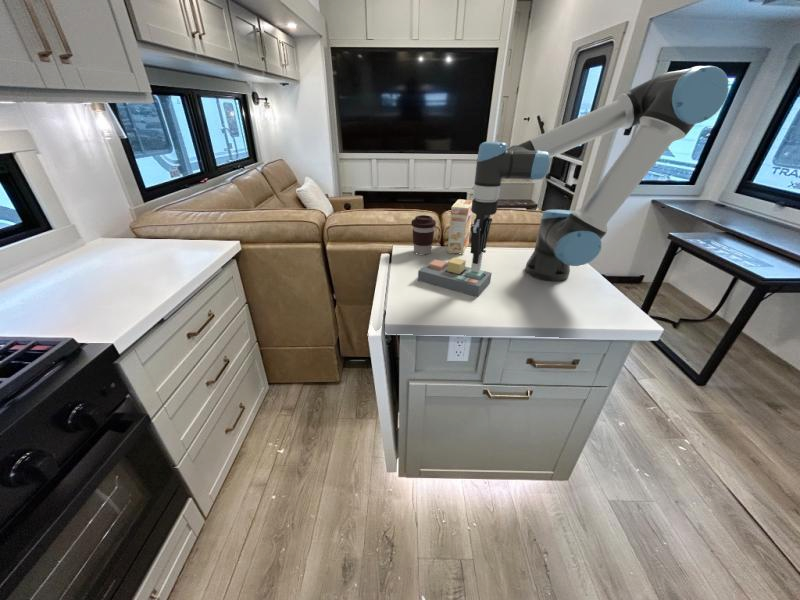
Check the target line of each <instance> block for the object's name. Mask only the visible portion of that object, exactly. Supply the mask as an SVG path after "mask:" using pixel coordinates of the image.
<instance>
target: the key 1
mask: <svg viewBox="0 0 800 600" xmlns="http://www.w3.org/2000/svg"><path fill="white" fill-rule="evenodd" d="M433 260H434V259H433ZM443 261H444V260H440V261H439V259H435V260H434V261H433V262H431V261H430V262H431V263H430V264H429V268H432V269H436V270H440V271H442V270H443V269H445V268H446V265H447V261H444V262H443Z"/></svg>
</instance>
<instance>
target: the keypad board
mask: <svg viewBox="0 0 800 600" xmlns="http://www.w3.org/2000/svg"><path fill="white" fill-rule="evenodd" d="M434 260H436V259H435V258H434V259H432V260H431V261H429V262H428V263H427V264H425V265H424V266H423V267H421V268H420V269H418V271H417V273H418V274H417V275H418V276H417V281H418V282H420V283H424V284H429V285H431V286H436V287H439V288H441V289H442V288H443V289H446V290H450V291H454V292H457V293H460V294H464V295H468V296H471V297H475V298H479V297H480V295H481V294H483V292H484V291H485V290H486V289H487V287H488V286H489V285H490V284H491V281H492V274H493V273H492V272H491V271H486V270H483V271H484V277H483V278H482V279H481V280H476V279H472V278H468V277H466V273H467V272H468V271H469V270H470V269H471V267H469V266H465V270H464V271H463V272H461V273H460V274H457V273H453V272H448V271H447V268H448V262H447V261H446V262H447V265H446V268H445V269H443V270H442V271H440V270H436V269H432V268H429V264H430V263H431V262H433V261H434ZM438 260H439V259H438ZM439 261H441V260H439ZM442 261H443V262H445V261H444V260H442Z"/></svg>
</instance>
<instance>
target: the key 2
mask: <svg viewBox="0 0 800 600" xmlns="http://www.w3.org/2000/svg"><path fill="white" fill-rule="evenodd" d="M484 271H485V270H483V269H480V272H479V273H477V272H473V271H471V269H470V270H469V271H468V272H467V273H466V277H468V278H472V279H476V280H481V279H482V278H483V277H484Z"/></svg>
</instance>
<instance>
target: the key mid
mask: <svg viewBox="0 0 800 600" xmlns="http://www.w3.org/2000/svg"><path fill="white" fill-rule="evenodd" d="M466 262H467V261H466V260H465V259H461V258H458V257H452V258H451V259H449V261H448V268H447V271H448V272H453V273H457V274H460V273H461V272H463V271H464V270H465V267H466Z"/></svg>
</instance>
